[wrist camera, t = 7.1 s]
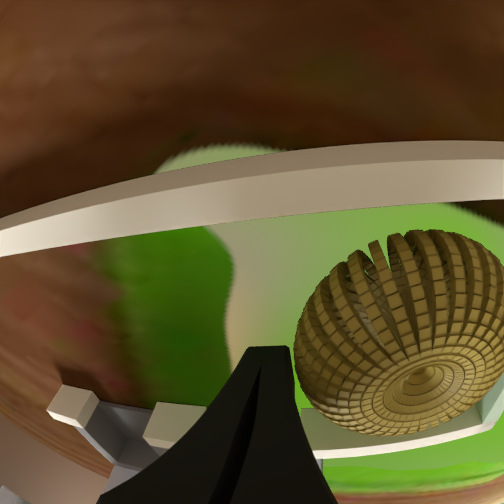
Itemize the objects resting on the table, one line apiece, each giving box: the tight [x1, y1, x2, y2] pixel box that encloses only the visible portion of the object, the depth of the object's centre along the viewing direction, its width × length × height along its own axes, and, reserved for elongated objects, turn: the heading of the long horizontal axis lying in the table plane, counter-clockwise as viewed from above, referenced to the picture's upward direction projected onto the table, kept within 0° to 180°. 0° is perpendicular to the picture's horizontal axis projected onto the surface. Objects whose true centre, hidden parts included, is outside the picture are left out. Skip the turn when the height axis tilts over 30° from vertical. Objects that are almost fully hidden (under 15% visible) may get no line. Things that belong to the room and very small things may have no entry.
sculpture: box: [293, 229, 504, 437], centre depth 9 cm, size 8×4×8 cm
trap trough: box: [0, 140, 504, 473], centre depth 13 cm, size 18×26×2 cm
